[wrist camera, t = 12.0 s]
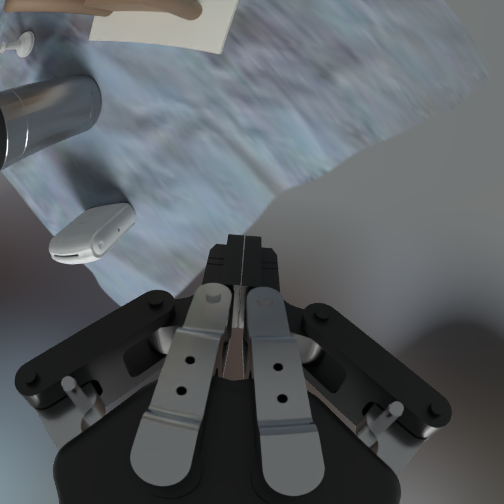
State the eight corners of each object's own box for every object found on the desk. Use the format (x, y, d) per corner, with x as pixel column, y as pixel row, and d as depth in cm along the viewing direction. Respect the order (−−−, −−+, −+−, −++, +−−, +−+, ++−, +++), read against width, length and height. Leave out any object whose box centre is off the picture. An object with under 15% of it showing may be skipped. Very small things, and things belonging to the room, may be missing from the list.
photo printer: (132, 199, 42) (83, 241, 31) (140, 224, 44) (96, 270, 34) (85, 206, 44) (38, 245, 34) (94, 228, 46) (50, 270, 36)
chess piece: (21, 33, 27) (-22, 39, 19) (36, 29, 27) (-9, 33, 18) (17, 58, 30) (-26, 67, 21) (32, 55, 29) (-13, 63, 21)
